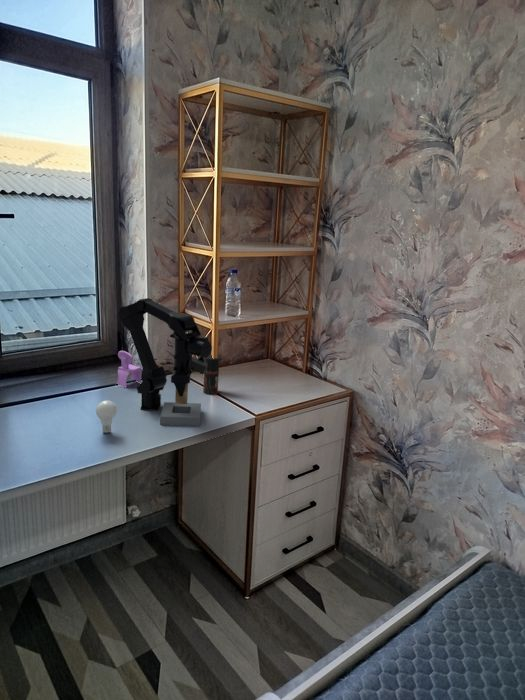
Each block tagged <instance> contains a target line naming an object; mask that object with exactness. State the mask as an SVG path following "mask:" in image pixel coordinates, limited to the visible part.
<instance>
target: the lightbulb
mask: <svg viewBox="0 0 525 700" xmlns="http://www.w3.org/2000/svg"><path fill="white" fill-rule="evenodd" d="M117 410H118V409H117V405H116V403H114V402H113V401H111V400H107V399H106V400H102V401H100V402H99V403H98V404H97V406H96V408H95V412H96V416H97V417H98V419H99V420H100V422H101V425H102V426H101V427H102V433H104V434H108V433H111V432H112V423H113V419H114V418H115V416H116V415H117Z"/></svg>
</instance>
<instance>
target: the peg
mask: <svg viewBox="0 0 525 700" xmlns="http://www.w3.org/2000/svg"><path fill="white" fill-rule="evenodd" d="M188 389H189V383H188V384H186V385H185V389H184V393H183V396H179V394H178V391H177V389H176V388H175V395H174V396H175V398H174V399H175V402H174V403H175V404H187V403H188V398H189V396H188V395H189V393H188V392H189V390H188Z"/></svg>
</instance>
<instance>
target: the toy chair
mask: <svg viewBox="0 0 525 700" xmlns="http://www.w3.org/2000/svg"><path fill="white" fill-rule="evenodd" d="M117 356H118V358H119V360H120V362H121V366H118V367H117V368H118V369H117V377H118V378H117V382H116V383H115V385H116V384H118V385H121V386H123V387H127V381H128V377H129V375H130V374H131V373H132V375H131V377H130V380H131V379H132V380H136V381H138V382H140V383H142V378H141V375H142V368H141V367H142V366H141V367H140V366H137V365H134V364H132V363H133V362H134V357H133V355H132V354H131V353H129V352H127V351H125V350H120V351H118V353H117ZM127 388H128V387H127Z"/></svg>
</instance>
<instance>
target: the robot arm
mask: <svg viewBox="0 0 525 700" xmlns="http://www.w3.org/2000/svg"><path fill="white" fill-rule="evenodd" d="M145 314H149V315H151V316H153V317H154V318H157V319H158V320H160V321H162V322H164V323H165V324H166V325H167V326H168V328H169V329H170V330H171V331H172V332H173V333H171V334H170V335H169V338H173V339H174V354H173V360H174V361H173V362H174V363H173V373H171V376H170V383H171V384H174V386H175V390H176V389H177V391H178V394H179V396H183V393H184V389H185V385H186V384H188V385H189V384H190V382H191V374H192V373H193V372H192V371H195V372H196V373H199V374H201V375H204V372H205V370H206V368H207V363H206V362H204V361H205V358H207V357H208V356H209V355H211V353H212V351H213V350H212V349H213V346H212V343H211V342H210V341H209V337H207V336H202V332H201V331H200V328H199V327H198V325H197V323H196V320H195V318H194V317H193V316H192V315H190V314H188V313H184V312H183V313H182V312H177V311H173V310H172V309H170V308H168V307H166V306H163V305H162V304H160V303H158V302H156V301H154V300H153V299H152V298H149V297H148V298H141V299H140V298H139V300H137V301H135V302H133V303H130V304H128V305H126V306H125V305H123V306H122V307H120V308H119V311H118V317H119V320H120V322H121V324H122V325H123V327H124V328H126V329H127V330H128V331H129V334H130V336H131V338H132V342H133V345H134V348H135V350H136V353H137V356H138V359H139V362H140V365H141V367H142V368H141V370H142V371H141V384H138V385H137V387H136V390H137V393H138V394H141V400H140V401H141V403H140V404H141V406H140V410H143V411H144V410H146V411H158V410H159V409H160V407H161V405H162V394H161V391H163V390H164V388H165V386H166V384H167V381H168V379H167V377H168V375H167V374H166V372H165V368H164V367H163V366H159V365H158V364H157V363H156V360H155V357H154V354H153V351H152V348H151V346H150V343H149V340H148V338H147V334H146V332H145V329H144V321H145V317H144V315H145ZM193 356H196V358H194V357H193Z"/></svg>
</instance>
